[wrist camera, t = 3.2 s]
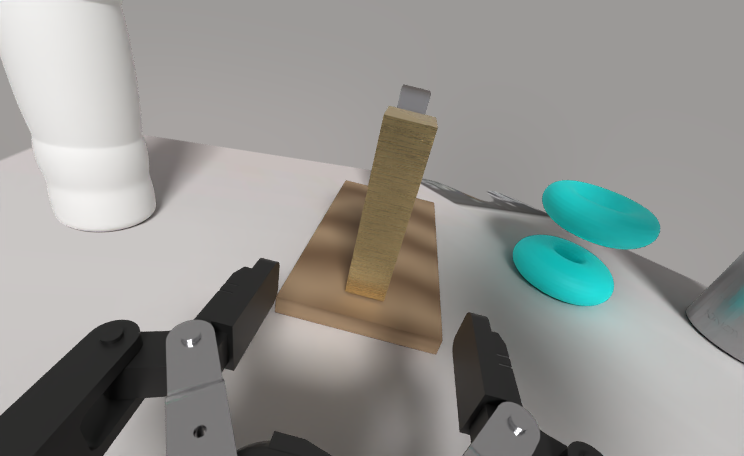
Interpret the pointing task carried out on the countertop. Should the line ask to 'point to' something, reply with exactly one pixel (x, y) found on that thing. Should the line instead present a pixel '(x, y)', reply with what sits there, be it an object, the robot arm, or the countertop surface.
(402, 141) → the brass leg
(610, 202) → the donuts
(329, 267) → the brown wooden stand
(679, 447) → the countertop surface
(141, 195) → the water bottle
